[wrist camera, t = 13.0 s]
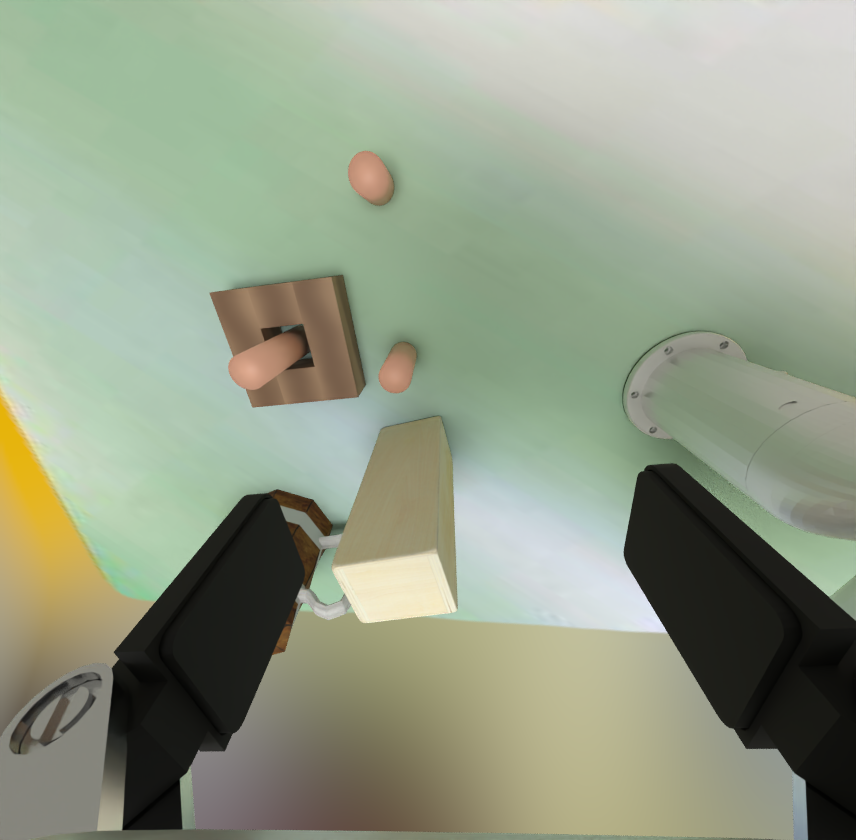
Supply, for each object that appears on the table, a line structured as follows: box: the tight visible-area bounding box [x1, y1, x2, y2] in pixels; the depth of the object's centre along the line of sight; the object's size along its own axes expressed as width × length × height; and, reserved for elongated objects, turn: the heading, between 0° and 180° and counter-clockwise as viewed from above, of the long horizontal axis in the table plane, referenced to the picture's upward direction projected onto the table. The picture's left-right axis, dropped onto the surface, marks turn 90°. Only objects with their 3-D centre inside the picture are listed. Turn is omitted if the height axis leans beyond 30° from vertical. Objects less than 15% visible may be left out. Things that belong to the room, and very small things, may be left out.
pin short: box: [348, 151, 394, 206], centre depth 29 cm, size 3×3×5 cm
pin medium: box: [379, 342, 417, 393], centre depth 34 cm, size 3×3×8 cm
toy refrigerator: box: [332, 416, 458, 623], centre depth 34 cm, size 8×7×21 cm
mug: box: [267, 489, 351, 655], centre depth 43 cm, size 20×14×15 cm
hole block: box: [210, 275, 366, 407], centre depth 36 cm, size 12×12×4 cm
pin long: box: [228, 326, 310, 390], centre depth 32 cm, size 3×3×12 cm
